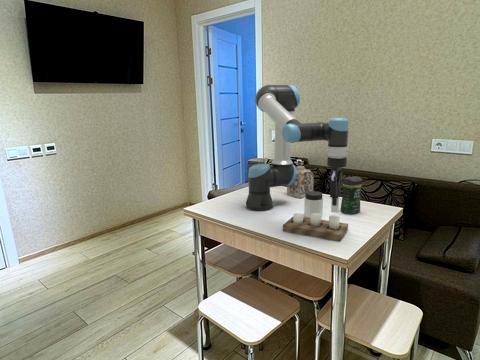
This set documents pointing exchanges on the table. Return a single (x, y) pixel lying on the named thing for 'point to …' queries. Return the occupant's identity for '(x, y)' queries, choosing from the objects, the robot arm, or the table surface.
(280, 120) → the robot arm
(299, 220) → the button left
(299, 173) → the decorative jar
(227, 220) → the table surface
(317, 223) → the button middle
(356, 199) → the coffee jar
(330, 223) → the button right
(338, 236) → the button board
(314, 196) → the jar
